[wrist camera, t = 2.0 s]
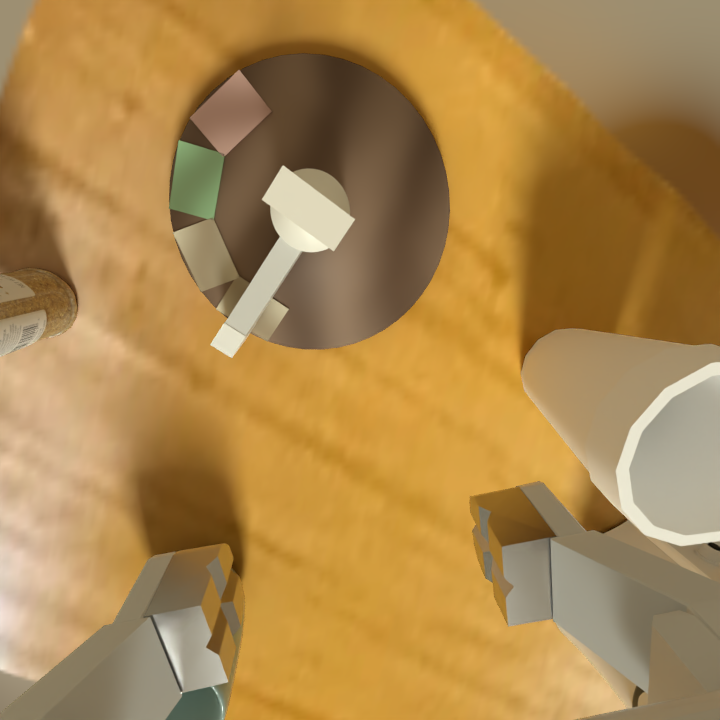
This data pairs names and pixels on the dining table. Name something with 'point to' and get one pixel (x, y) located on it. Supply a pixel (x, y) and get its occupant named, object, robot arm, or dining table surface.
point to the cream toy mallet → (289, 242)
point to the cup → (209, 693)
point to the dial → (322, 152)
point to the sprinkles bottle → (33, 308)
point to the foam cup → (637, 424)
